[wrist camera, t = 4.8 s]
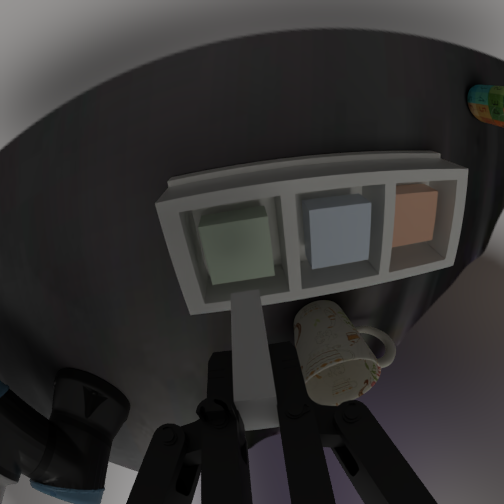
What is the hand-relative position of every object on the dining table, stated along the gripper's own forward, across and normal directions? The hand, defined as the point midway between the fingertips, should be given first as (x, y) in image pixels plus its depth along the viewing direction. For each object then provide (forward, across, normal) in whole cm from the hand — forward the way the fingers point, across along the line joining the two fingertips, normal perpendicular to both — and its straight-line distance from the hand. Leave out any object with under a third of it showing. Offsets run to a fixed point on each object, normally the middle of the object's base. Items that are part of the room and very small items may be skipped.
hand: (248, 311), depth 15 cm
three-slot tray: (+12, +8, 0) cm, 14 cm away
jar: (+12, +29, +12) cm, 33 cm away
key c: (+10, +16, 0) cm, 19 cm away
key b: (+9, +8, 0) cm, 12 cm away
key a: (+9, 0, 0) cm, 9 cm away
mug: (+12, +9, -13) cm, 20 cm away
